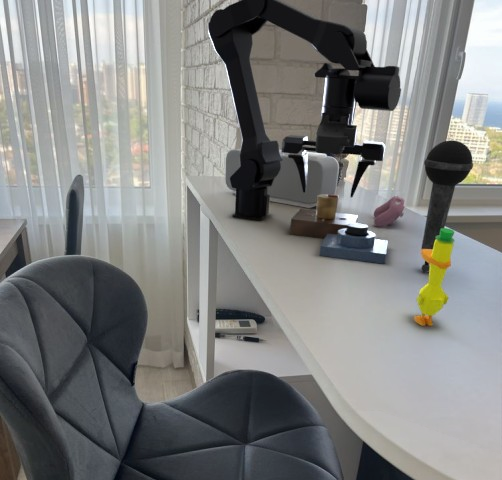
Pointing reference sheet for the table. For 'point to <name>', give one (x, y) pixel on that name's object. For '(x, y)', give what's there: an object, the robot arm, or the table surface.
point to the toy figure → (435, 277)
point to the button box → (354, 247)
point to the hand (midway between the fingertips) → (327, 194)
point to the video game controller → (389, 211)
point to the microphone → (443, 185)
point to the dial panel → (319, 223)
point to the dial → (326, 206)
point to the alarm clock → (295, 178)
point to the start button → (357, 229)
